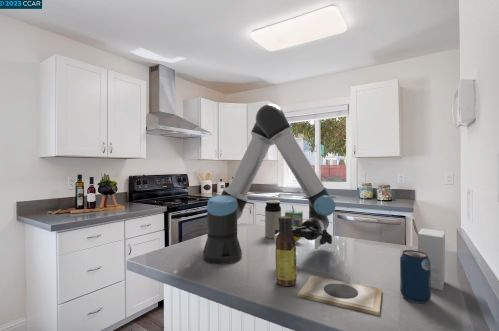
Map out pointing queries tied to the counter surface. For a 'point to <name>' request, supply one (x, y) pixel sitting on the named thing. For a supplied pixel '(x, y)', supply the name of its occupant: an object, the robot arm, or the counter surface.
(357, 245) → the counter surface
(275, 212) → the travel mug
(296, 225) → the lemon
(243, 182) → the robot arm
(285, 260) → the sauce bottle
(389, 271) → the counter surface
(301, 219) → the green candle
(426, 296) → the soda can
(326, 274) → the counter surface
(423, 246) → the skincare box
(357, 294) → the wooden picture frame
